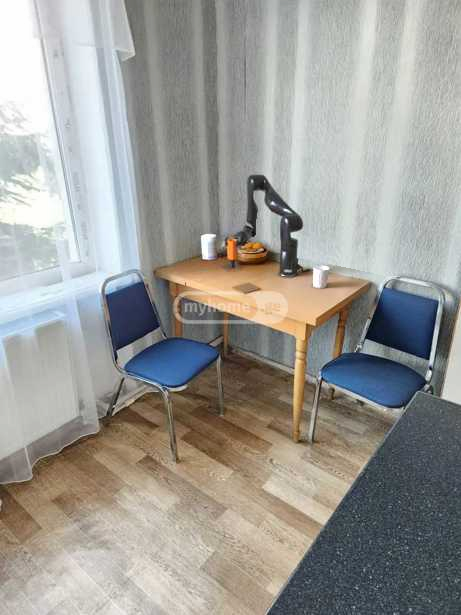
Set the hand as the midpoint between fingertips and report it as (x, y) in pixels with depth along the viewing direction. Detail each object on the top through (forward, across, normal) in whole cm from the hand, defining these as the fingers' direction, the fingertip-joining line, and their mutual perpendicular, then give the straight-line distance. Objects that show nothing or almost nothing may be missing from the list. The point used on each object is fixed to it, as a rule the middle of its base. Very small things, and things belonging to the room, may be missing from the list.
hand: (231, 244), depth 224 cm
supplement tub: (-14, -20, +15) cm, 28 cm away
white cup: (+9, +53, +15) cm, 56 cm away
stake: (-3, 0, +15) cm, 15 cm away
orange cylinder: (-2, 0, +9) cm, 9 cm away
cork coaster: (+25, +19, +15) cm, 35 cm away
